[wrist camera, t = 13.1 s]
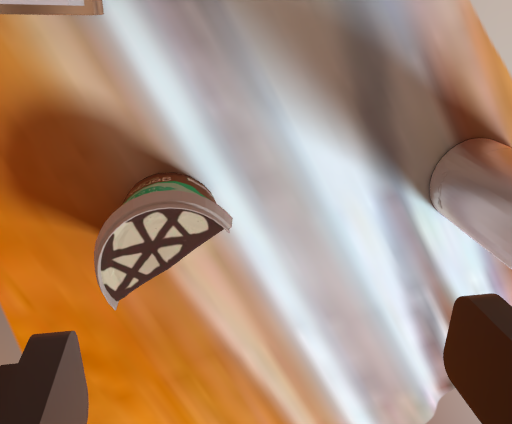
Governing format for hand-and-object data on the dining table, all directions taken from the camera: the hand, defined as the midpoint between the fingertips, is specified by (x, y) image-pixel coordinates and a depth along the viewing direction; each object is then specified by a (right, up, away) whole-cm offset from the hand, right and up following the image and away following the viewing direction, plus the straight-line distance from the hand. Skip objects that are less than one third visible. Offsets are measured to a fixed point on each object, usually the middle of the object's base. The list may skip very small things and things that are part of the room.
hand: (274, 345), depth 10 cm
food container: (-10, +4, +34) cm, 36 cm away
